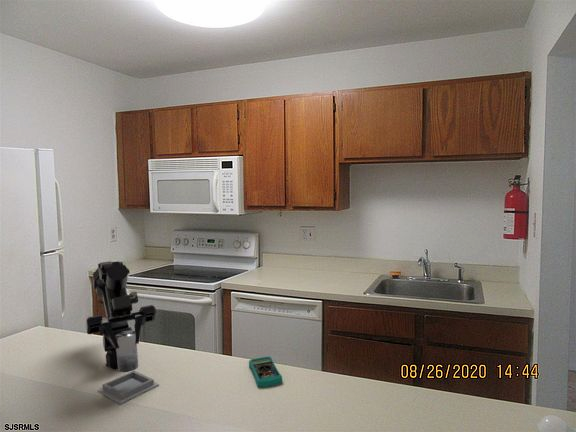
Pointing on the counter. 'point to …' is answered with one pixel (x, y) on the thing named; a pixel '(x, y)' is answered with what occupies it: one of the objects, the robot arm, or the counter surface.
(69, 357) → the counter surface
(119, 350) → the metal cylinder
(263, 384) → the digital multimeter
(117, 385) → the holder
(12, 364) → the counter surface
